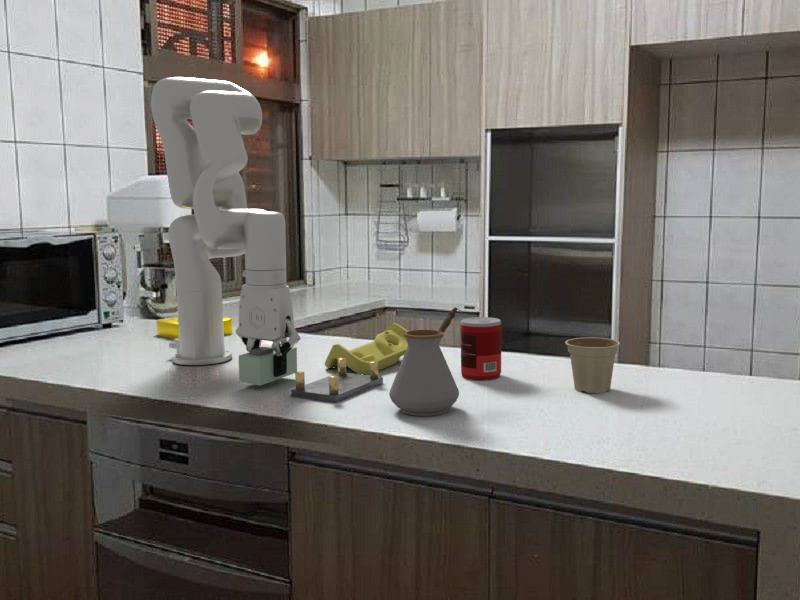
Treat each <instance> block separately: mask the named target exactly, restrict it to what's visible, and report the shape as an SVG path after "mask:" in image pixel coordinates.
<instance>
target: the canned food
mask: <svg viewBox="0 0 800 600" xmlns="http://www.w3.org/2000/svg"><path fill="white" fill-rule="evenodd" d="M501 320H502V319H500V318H498V317H491V316H490V317H487V316H486V317H485V316H477V317H467V318H462V319H461V320H460V368H461V369H460V373H461V377H462V378H464V379H466V380H468V381H469V380H470V381H477V382H478V381H494V380H496V379H498V378H500V376H501V373H502V321H501Z"/></svg>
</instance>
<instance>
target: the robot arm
mask: <svg viewBox="0 0 800 600" xmlns="http://www.w3.org/2000/svg"><path fill="white" fill-rule="evenodd" d="M150 107H151V114H152V115H151V116H152V119H153V122H154V125H155V127H156V130H157V133H158V134H159V137H160V140H161V143H162V146H163V151H164V160H165V167H166V175H167V183H168V189H169V194H170V198H171V201H172V202H173V205H175V206H176V207H178V208H180V209H188V210H189V209H190V210H193V213H194V214H186V215H181V216H178V217H176V218H174V220H173V221H172V222H171V223H170V224H169V227H168V231H167V232H168V242H169V247H170V251H171V255H172V259H173V260H172V261H173V267H174V275H175V289H176V304H177V317H178V326H179V339H172V341H170V342H169V344H168V347H169V349H175V350H176V353H175V354H174V355H173V356H172V362H173V363H175V364H177V365H182V366H206V365H215V364H219V363H224V362H229V361H230V360H231V359H232V358H233V352H231V351H230V350H226V349H225V335H224V327H223V317H224V313H223V292H222V291H223V290H222V289H223V288H222V278H221V276H220V274H219V272H218V270H217V269H216V268H215V266H214V265H213V264H212V263H211V261H210V259H219V258H232V257H233V258H234V257H240V256H243V255H244V267H245V269H244V270H243V271H242V277H243V278H245V284H242V286H241V290H240V295H239V304H238V327H237V328H236V330H235V334H236V335H237V336H238V337H239V339H240V340H241V342H242V343H243V344H244V346H245V350H246V351H247V353H249V351H250V350H253V349H256V348H260V347H262V343H263V342H262V341H266V342H267V341H268V342H272V343H273V345H274V349H275V353H276V355H275V356H273V364H274V376H275V377H278V376H281V375H284V374H286V373H287V354H288V353H289V352H290V350H291V349H292V347H295V345H297V344H298V343H299V342H300V341H301V336H300V335H299V332H298V331H297V330H296V328H295V326H294V325H295V323H294V319H295V318H294V310H293V307H294V306H293V300H292V295H291V290H290V286H289V285H287V250H286V249H287V248H286V244H287V242H286V241H287V239H286V238H287V237H286V218H285V216H284V214H283V213H281V212H279V211H270V210H269V211H268V210H265V209H262V208H248V205H247V204H248V203H247V196H246V189H245V183H244V181H243V177H242V176H241V174H240V171H242V170H243V169H244V168H245V167H246V166H247V164H248V159H249V158H248V154H247V150H246V147H245V145H244V144H245V143H244V139H243V137H242V135H244V136H245V135H249V136H250V135H254V134H256V133H258V131H259V130H261V126H262V123H263V111H262V108H261V104H260V102H259V101H258V99H257V98H256V97H255V95H254V94H252V93H251V92H250V91H248V90H246V89H244V88H242V87H240V86H239V85H238V84H235V83H233V82H231V81H227V80H219V79H207V78H198V77H197V78H196V77H184V76H173V77H166V78H161V79H160V80H158V81H157V82H156V83H155V84H154V85H153V87H152V90H151V98H150ZM188 120H191V122H192V125H191V124H190V123H189V122H188ZM280 343H281V345H282V346H281V345H280Z"/></svg>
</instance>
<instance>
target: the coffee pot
mask: <svg viewBox="0 0 800 600" xmlns="http://www.w3.org/2000/svg"><path fill="white" fill-rule="evenodd" d="M458 311H460V313H461V315H459V316H457V315H455V314H457V312H458ZM447 315H448V316H446V318H444V319H443V321H442V323H441V325H440V327H439V329H438V330H436V329H413V330H408V331H407V332H405V333H404V336H405V337H406V339H407V343H408V347H407V349H406V352H405V354H404V355H403V356H402V360H401V362H400V365H399V367H398V370H397V372H396V375H395V377H394V379H393V382H392V384H391V388H390V389H389V398H390V400H391V402H392V403H393V404H394V405H395V406H396V407H397V408H398V409H400V411H401V412H402V413H403V414H406V415H410V416H418V417H422V416H423V417H431V416H437V415H442V414H444V413H446V412H448V410H449V408H451V407H453V405H455V403H456V402H457V401H458V398H459V396H460V390H459V388H458V386H457V383H456V381H455V378H454V377H453V373H452V372H451V370H450V367H449V365H448V363H447V360H446V358H445V356H444V353H443V351H442V349H441V347H440V342H441V340H442V338H443V337H444V333H445V332H446V330H447V329H448V328H449V326H450V325H451V323H452V320H453V319H454V318H456V319H457V318H461V317H463V311H462V310H461V309H459V308H458V307H455V306H454V307H453V308H452V309H451V310H450V312H448V313H447Z"/></svg>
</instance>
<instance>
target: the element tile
mask: <svg viewBox="0 0 800 600" xmlns="http://www.w3.org/2000/svg"><path fill="white" fill-rule="evenodd" d="M223 327H224V336H226V335H227V336H228V335H232V334H233V320H232V318H230V317H226V316H225V317H224V316H223ZM156 335H157V336H158V337H161V338H166V339H172V340H174V339H179V326H178V316H174V317H168V318H167V317H166V318H160V319H157V320H156Z"/></svg>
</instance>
